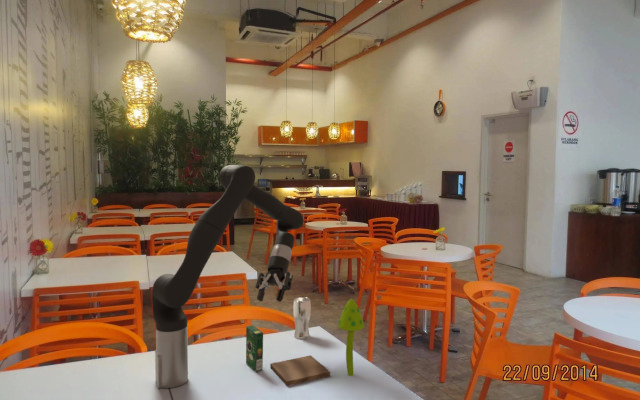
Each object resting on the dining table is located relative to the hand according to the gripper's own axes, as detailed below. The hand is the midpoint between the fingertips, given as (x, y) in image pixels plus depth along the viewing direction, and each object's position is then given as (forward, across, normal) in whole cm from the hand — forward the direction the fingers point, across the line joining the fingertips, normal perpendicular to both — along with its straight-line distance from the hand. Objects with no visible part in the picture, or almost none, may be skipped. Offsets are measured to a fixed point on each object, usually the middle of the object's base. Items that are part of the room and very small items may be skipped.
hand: (269, 300), depth 154 cm
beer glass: (+4, -3, +29) cm, 29 cm away
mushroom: (+19, +28, +16) cm, 37 cm away
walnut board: (+21, +13, +8) cm, 26 cm away
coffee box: (+22, -1, +3) cm, 22 cm away
